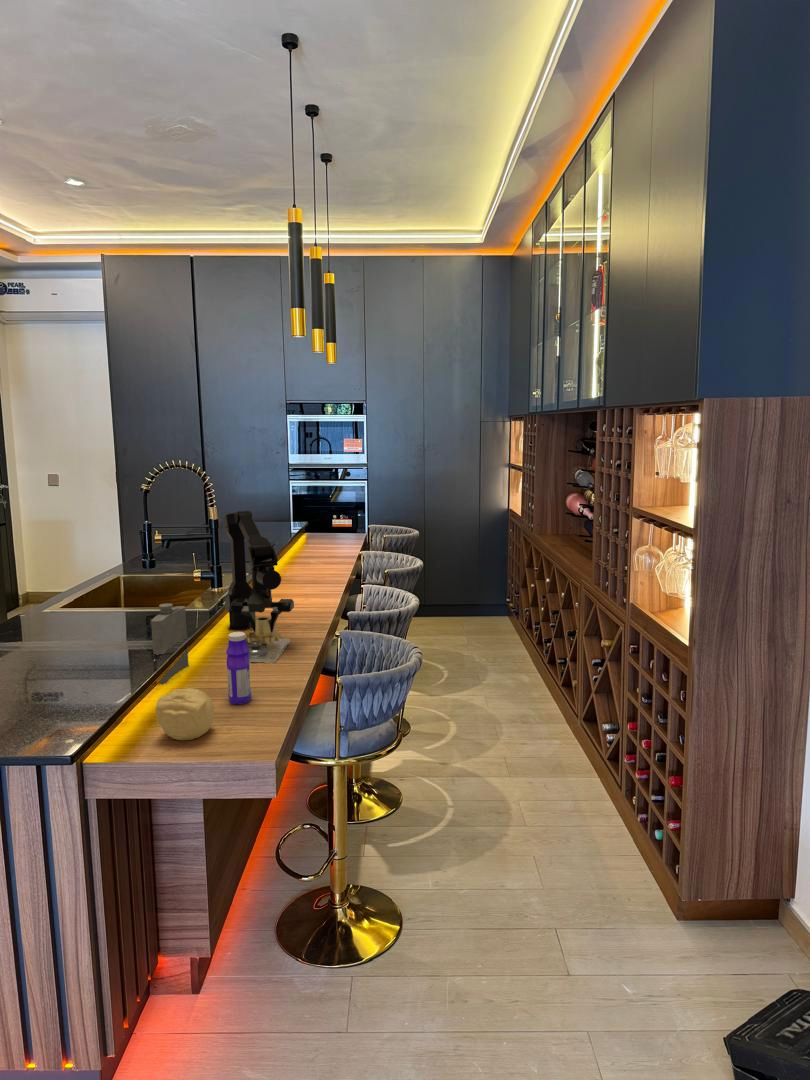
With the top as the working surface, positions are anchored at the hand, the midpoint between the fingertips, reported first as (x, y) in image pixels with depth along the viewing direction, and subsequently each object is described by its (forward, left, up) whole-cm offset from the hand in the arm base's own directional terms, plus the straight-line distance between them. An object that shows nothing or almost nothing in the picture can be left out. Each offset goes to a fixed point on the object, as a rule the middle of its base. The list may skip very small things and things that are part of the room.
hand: (263, 631), depth 219 cm
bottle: (+5, -43, -5) cm, 43 cm away
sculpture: (-1, -63, -5) cm, 63 cm away
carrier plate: (0, -5, -5) cm, 7 cm away
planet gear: (0, 0, -2) cm, 2 cm away
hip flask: (-20, -25, -5) cm, 32 cm away
